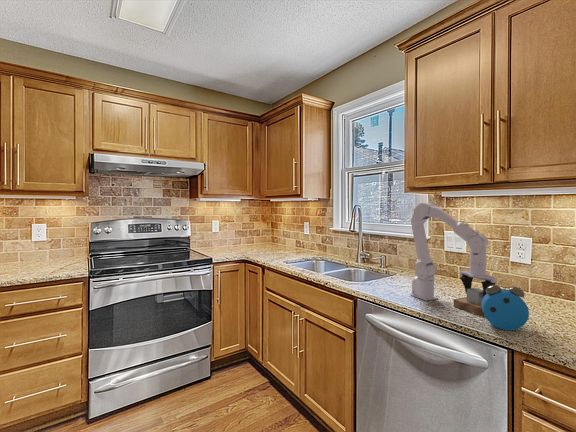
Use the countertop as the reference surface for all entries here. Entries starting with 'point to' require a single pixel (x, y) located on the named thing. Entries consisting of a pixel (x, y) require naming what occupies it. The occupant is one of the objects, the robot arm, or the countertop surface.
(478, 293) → the slate cube
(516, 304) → the alarm clock
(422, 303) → the countertop surface
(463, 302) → the walnut base
